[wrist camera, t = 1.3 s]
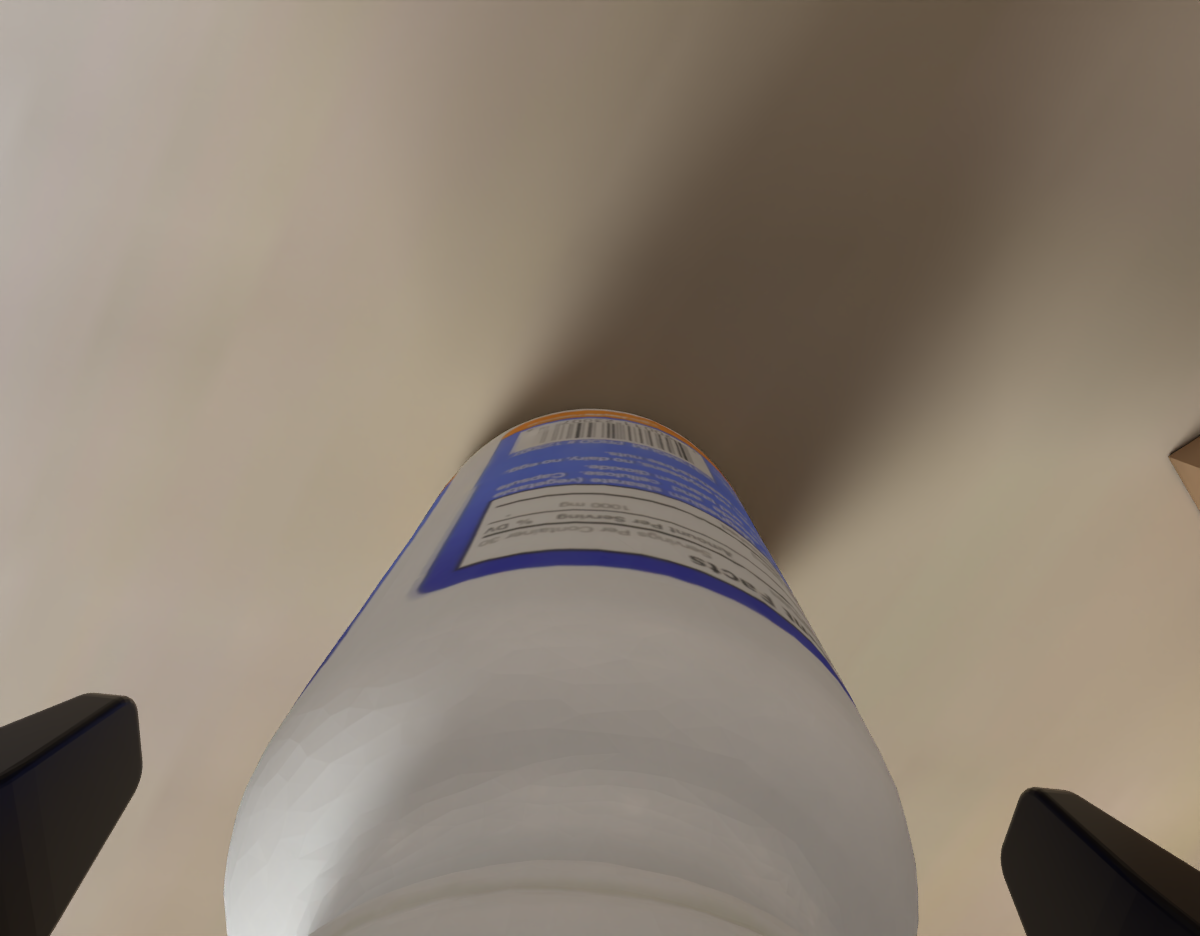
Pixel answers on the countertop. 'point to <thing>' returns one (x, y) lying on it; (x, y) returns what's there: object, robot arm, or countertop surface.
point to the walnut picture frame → (1189, 468)
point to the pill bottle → (575, 724)
